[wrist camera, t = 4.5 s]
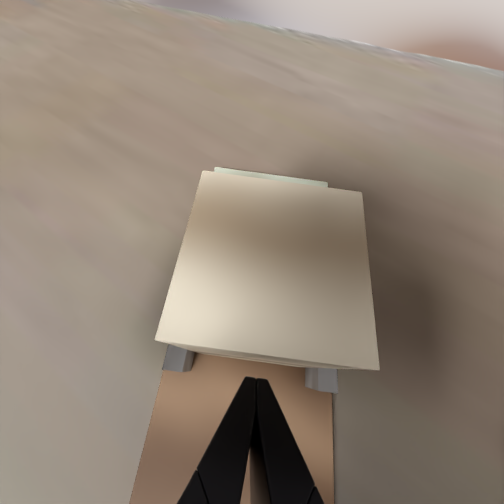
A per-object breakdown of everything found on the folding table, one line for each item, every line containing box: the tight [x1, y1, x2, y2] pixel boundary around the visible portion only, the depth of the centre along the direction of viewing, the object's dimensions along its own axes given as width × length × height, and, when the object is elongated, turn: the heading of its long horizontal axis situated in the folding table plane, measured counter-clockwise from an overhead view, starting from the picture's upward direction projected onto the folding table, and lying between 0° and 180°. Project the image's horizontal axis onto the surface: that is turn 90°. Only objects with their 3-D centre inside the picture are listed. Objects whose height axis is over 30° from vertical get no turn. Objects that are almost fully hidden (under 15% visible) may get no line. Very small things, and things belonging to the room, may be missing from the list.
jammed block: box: [155, 171, 380, 371], centre depth 12 cm, size 6×6×9 cm
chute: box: [129, 167, 338, 504], centre depth 15 cm, size 22×10×3 cm, turn 173°
